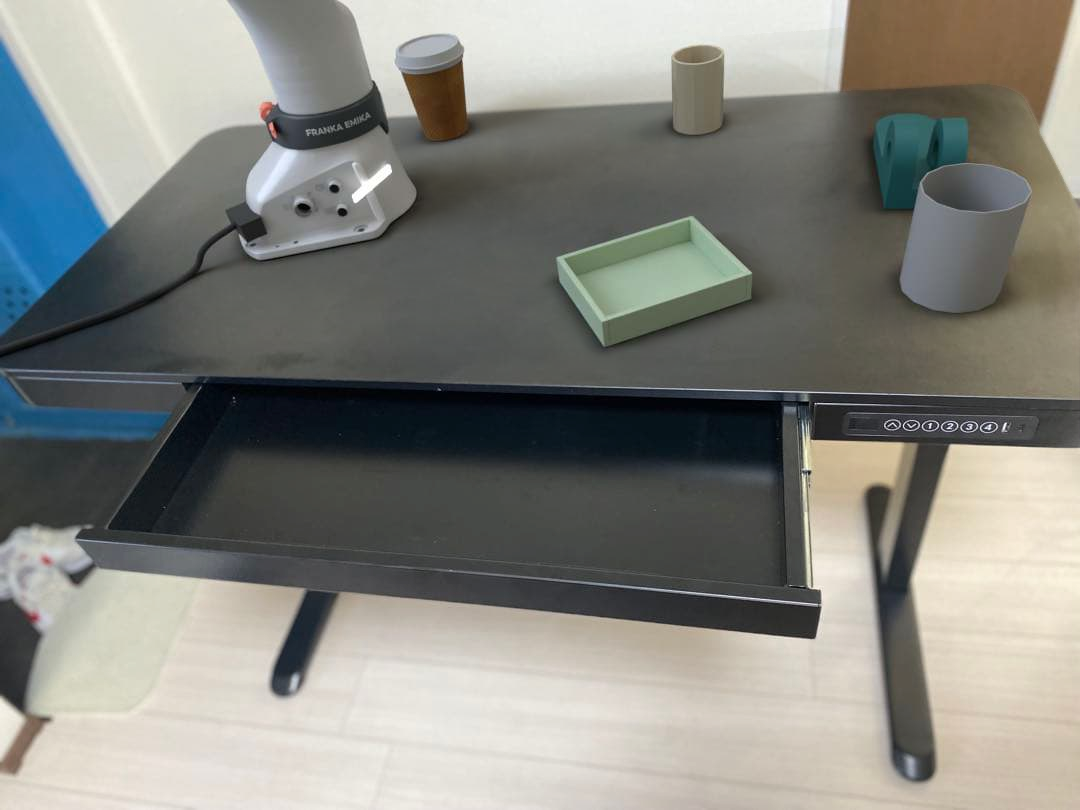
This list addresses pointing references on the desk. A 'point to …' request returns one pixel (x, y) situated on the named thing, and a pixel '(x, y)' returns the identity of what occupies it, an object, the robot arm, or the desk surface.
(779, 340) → the desk surface
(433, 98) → the disposable coffee cup
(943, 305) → the cup
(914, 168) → the bracket
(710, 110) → the tumbler
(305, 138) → the robot arm
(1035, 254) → the desk surface
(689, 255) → the tray
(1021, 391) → the desk surface
